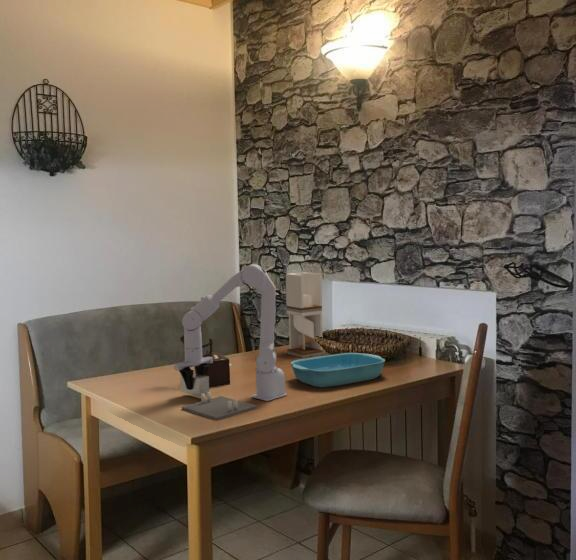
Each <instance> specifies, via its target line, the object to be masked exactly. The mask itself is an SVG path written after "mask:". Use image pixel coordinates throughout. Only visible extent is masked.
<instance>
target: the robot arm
mask: <svg viewBox="0 0 576 560" xmlns="http://www.w3.org/2000/svg"><path fill="white" fill-rule="evenodd" d="M246 285H248V286H250V287H252V288H254V289H255V290H256V291H257V292H258V293H259V294H260V295H261V299H260V300H261V301H260V331H259V332H260V333H259V334H260V335H259V347H258V349H259V350H258V354H257V357H256V359H255V366H256V368H255V385H256V386H255V390H256V392H255V393H254V394H252V395H250V397H251V398H254V399H258V400H261V401H266V402H269V401H272V400H276V399H278V398H281V397H286V396H288V393H286V376H285V373H284V371H283V370H282V368H279V367H277V366H276V362H277V358H278V356H277V353H276V351H275V320H276V319H275V318H276V291H277V290H276V285H275V284H274V282H273V281H272V279H271V277H270V276H269V274H268V273H267V271H266V269H264V267H262V266H260V265H259V264H257V263H251V264H248V265H247V266H246V267H244V268H243V269H242V270H240V271H239V272H237V273H235V274H234V275H233V276H231V277H230V278H229V279H228V280H227V281H226V282H225V283H224V284H223V285H222V286H221V287H220V288H219V289H218V290H217V291H216V292H215V293H213V294H207V295H205V296H204V295H203V296H201V297H200V301H198V302H197V303H196V304H195V305H194V306H191V307H190V308H189V309H190V311H188V312H185V314H184V315H183V317H182V319H181V323H182V327H183V332H184V334H183V335H184V344H183V347H184V346H185V348H184V360H182V361H181V362H178V363H174V364H173V367H174V368H173V369H174V371H178V372H179V373H180V374H181V375H182V377H183V379H184V381H185V384H186V388H187V389H188V390H192V378H193V373H195V371H194V369H191V368H193V367H195V370H196V374H200V375H204V376H206V373H207V371H208V369H209V365H207V363H213V357H203V358H202V355H203V348H202V345H203V339H202V336H203V335H202V326H201V325H202V324H203V322H204V321H206V320H207V319H209V317H210V316H212V315H213V314H214V313H215V312H217V310H218V309H219V308H220V302H221V301H222V300H223V299H224V298H226V296H228V295H230V294H231V292H233V290H235V289H236V288H240V287H244V286H246Z"/></svg>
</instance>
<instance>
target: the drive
mask: <svg viewBox="0 0 576 560" xmlns="http://www.w3.org/2000/svg"><path fill="white" fill-rule="evenodd" d="M179 376H180V392H181V393H182V394H183V393H184V394H187V395H192V396H195V397H198V398H201V394H205V396H207V392H210V387H209V376H204V375H200V374H196V373H195V372H193V378H192V390H188V389H187V388H186V384H185V381H184V379H183V377H182V375H181V373H180V375H179Z"/></svg>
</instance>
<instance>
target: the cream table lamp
mask: <svg viewBox="0 0 576 560" xmlns="http://www.w3.org/2000/svg"><path fill="white" fill-rule="evenodd" d="M322 281H323V280H322V273H317V272H316V273H315V272H305V271H304V272H293V273H286V274H285V296H286V297H285V298H286V299H285V300H286V301H285V302H286V307H285V309H286V314H288V330H289V331H288V332H289V333H288V337H289V338H288V339H289V341H288V342H289V348H287V349H286V350H287V353H288V354H287V355H290V354H292V355H291V356H294V355H295V357H297V356H299V357H298V358H301V357H302V358H301V359H304V358H303V357H306V358H309V357H308V356H312V357H315V356H314V355H317V356H321V355H320V354H324V352H323V350H324V348H323V349H322V347H321V346H320V345H319V344H317V343H316V342H315V341H314V337H315V336H319V337H322V338H323V298H322V297H323V296H322V295H323V294H322V292H323V290H322V289H323V288H322Z"/></svg>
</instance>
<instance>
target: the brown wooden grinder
mask: <svg viewBox="0 0 576 560" xmlns="http://www.w3.org/2000/svg"><path fill="white" fill-rule="evenodd" d="M179 337H180V338H179V341H180V343H181V344H182V345H183V348H184V349H185V346H184V334H182V335H181V336H179ZM208 340H209V342H208V343H206V344H202V349H203V348H207V347H208V346H209V350H207V351H206V352H204V354H202V358H203V357H213V363H207V365H209V369H208V371H207V373H206V376H209V388H212V387H220V386H226V385H231V370H230V369H231V367H230V365H229V364H230V358H228V357H226V356H225V355H223V354H221V353H219V352H218V353H217V352H215V351H213V344H214V343H213V341H214V340H213V338H212V337H209V338H208ZM193 370H194V373H196V370H195V367H194V369H193Z"/></svg>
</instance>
